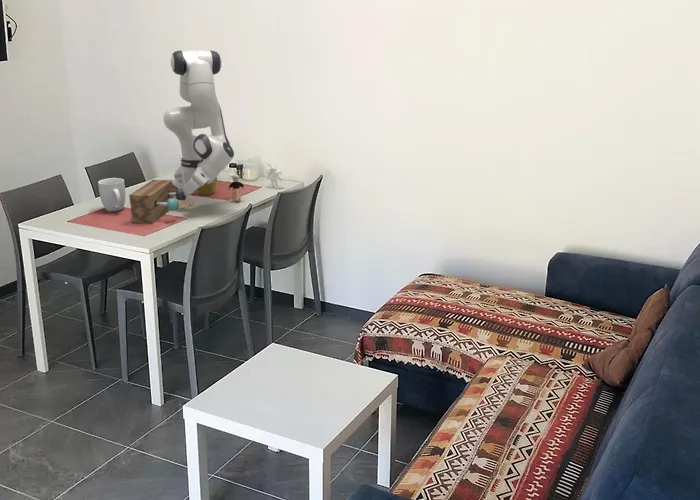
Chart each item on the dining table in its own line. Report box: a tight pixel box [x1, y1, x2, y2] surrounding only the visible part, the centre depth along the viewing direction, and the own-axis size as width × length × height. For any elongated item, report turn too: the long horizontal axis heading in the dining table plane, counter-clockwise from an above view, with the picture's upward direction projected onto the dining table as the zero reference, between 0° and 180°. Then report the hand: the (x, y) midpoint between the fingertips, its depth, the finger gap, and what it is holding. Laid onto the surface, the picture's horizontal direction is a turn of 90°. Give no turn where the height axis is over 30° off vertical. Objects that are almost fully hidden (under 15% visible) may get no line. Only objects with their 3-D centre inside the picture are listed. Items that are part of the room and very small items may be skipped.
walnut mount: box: [129, 179, 175, 224], centre depth 327 cm, size 9×25×12 cm, turn 171°
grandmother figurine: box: [227, 173, 246, 203], centre depth 344 cm, size 8×4×13 cm, turn 112°
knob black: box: [168, 188, 187, 201], centre depth 332 cm, size 8×5×5 cm, turn 81°
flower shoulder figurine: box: [264, 163, 283, 189], centre depth 365 cm, size 9×4×12 cm, turn 61°
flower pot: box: [196, 176, 218, 195], centre depth 357 cm, size 9×9×9 cm
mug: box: [97, 177, 126, 212], centre depth 332 cm, size 15×11×13 cm
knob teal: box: [156, 198, 179, 211], centre depth 318 cm, size 8×5×5 cm, turn 81°
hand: (185, 194), depth 332 cm, fingers closed, pressing on knob black
